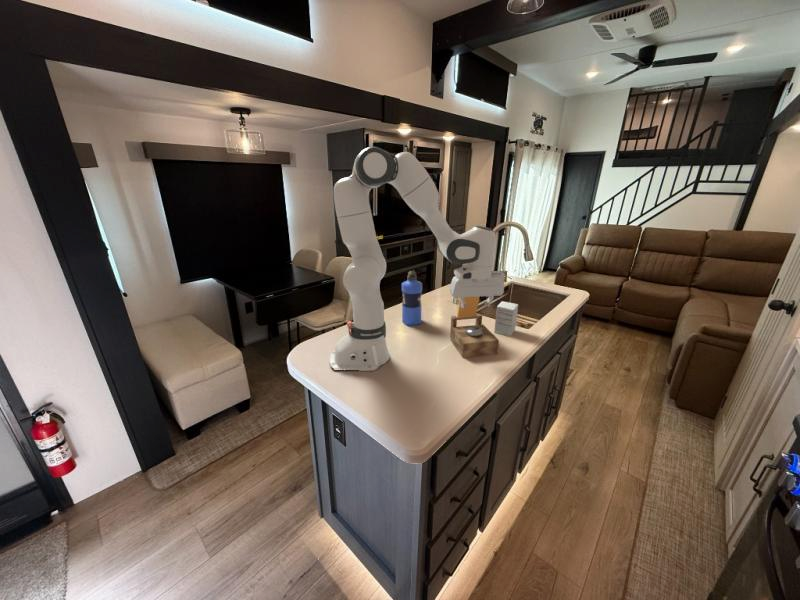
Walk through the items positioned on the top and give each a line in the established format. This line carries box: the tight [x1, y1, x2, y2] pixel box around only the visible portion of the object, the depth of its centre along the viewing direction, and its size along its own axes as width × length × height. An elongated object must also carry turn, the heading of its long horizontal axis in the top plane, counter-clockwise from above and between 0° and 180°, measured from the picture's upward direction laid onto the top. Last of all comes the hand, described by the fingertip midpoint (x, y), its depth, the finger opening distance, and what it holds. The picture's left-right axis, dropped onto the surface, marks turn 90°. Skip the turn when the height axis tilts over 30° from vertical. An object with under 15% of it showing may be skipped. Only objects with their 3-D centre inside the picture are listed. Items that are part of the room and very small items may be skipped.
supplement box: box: [493, 300, 519, 337], centre depth 134 cm, size 7×7×13 cm
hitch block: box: [449, 313, 500, 358], centre depth 123 cm, size 14×16×10 cm
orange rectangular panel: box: [456, 296, 481, 321], centre depth 126 cm, size 8×12×1 cm
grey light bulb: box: [466, 327, 482, 337], centre depth 122 cm, size 6×6×7 cm
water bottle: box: [401, 269, 423, 327], centre depth 142 cm, size 9×9×25 cm
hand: (475, 306), depth 117 cm, fingers open, 8 cm apart
